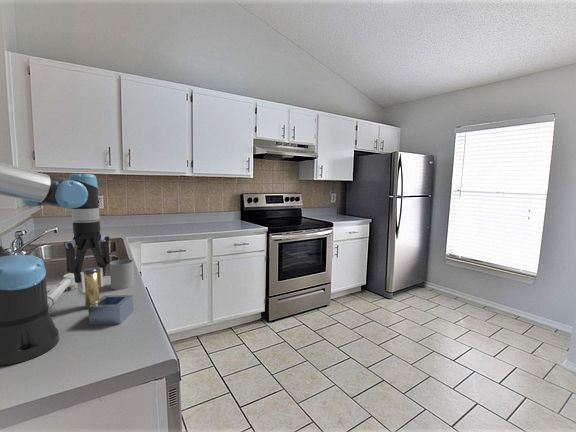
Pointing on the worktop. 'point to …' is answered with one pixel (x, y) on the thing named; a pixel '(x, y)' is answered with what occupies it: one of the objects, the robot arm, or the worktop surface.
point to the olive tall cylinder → (91, 286)
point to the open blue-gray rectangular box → (110, 309)
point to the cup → (121, 274)
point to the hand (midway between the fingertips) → (91, 288)
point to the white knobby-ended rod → (61, 288)
